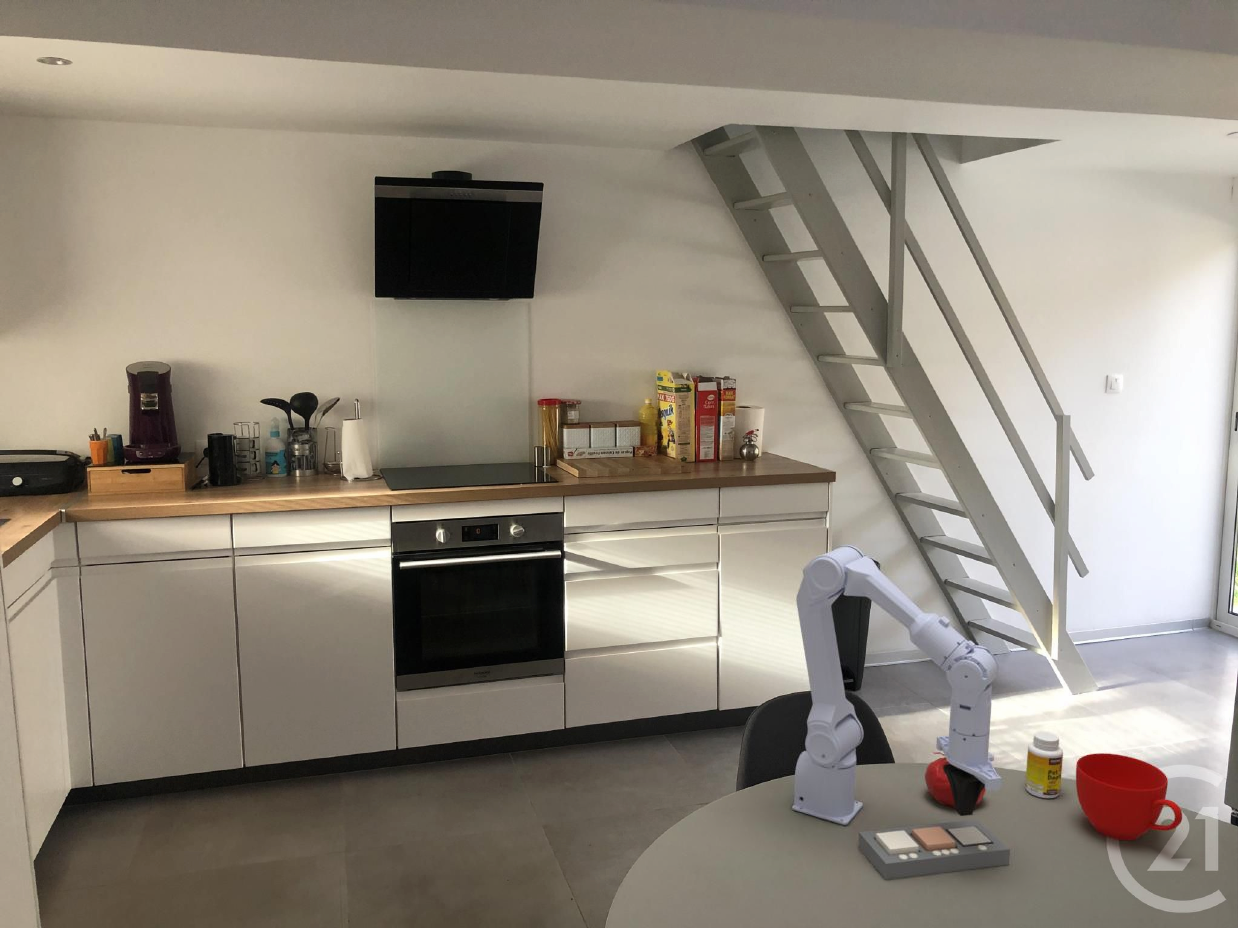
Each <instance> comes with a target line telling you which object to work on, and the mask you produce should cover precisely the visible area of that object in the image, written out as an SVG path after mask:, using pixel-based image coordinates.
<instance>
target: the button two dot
mask: <svg viewBox="0 0 1238 928" xmlns="http://www.w3.org/2000/svg"><path fill="white" fill-rule="evenodd" d="M876 842H877V843H878V844H879V845H880V846H881V847H882V848H883V850H884V851H885V852H886V853H887V854H888V855H889V856H891V855H900V854H908V853H917V852H919V846H918V845H917V844H916V843H915V842H914V841H913V840H912V838H911V837H910V836H909V835H908V834H907V833H906V832H905V831H904V830H903V831H894V832H885V833H876Z"/></svg>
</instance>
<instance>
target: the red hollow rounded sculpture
mask: <svg viewBox="0 0 1238 928" xmlns="http://www.w3.org/2000/svg"><path fill="white" fill-rule="evenodd" d="M932 753H933V754H934V755H936V754H938V755H941V756H944V757H939V758H938V759H935V760H934V761H931V762H930V763H929V764H928V765H927V767H926V770H925V773H924V780H925V781H924V782H925V784H926V787H927V790H928V791H929V793H930V794H931V796H932V797H933V798H934V799H935V800H936V801H937V802H939V803H940V804H943V805H944V806H950V807H953V808H955V805H954V800H953V795H952V790H951V787H950V784H949V781H948V778H947V776H946V774H945V772H944V770H943V766H944V765H946V764H950V763H949V762H948V761H947V759H946V757H945V755H944V753H942V752H941V751H940V752H934V751H932ZM986 791H987V790H986V789H985V787H984V789H983V790H982V792H981V794H980V796H979V798H978V800H977V803H976V806H977V805H978V804H979V803H981V801H982V800H983V798H984V796H985V793H986Z"/></svg>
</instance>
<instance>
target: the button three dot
mask: <svg viewBox="0 0 1238 928" xmlns="http://www.w3.org/2000/svg"><path fill="white" fill-rule="evenodd" d="M912 837H913V838H914V839H915V840H916V841H917V842H918V843H919V844H920V845H921V846H922V847H923V848H924V850H925V851H934V850H943V849H951V848H955V843H956V842H955V841H954V840H953V839H952V838H951V837H950V836H949V835H948V834H947V833H946V832H945V831H944V830H943V829H942V828H941V827H940V826H939V827H930V828H921V829H912Z"/></svg>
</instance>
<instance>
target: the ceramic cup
mask: <svg viewBox="0 0 1238 928" xmlns="http://www.w3.org/2000/svg"><path fill="white" fill-rule="evenodd" d="M1075 767H1076V768H1075V786H1076V794H1077V799H1078V802H1079V805H1080V807H1081V809H1082V811H1083V814H1084V815H1085V817H1086V818H1087V820H1088V821H1089V822H1090V823H1091V825H1092V826H1093V828H1094V829H1095V831H1097V832H1098V833H1099V834H1101V835H1103V836H1105V837H1108V838H1110V839H1114V840H1120V841H1133V840H1136V839H1138V838H1139V837H1141V836H1142V835H1144V834H1145V833H1147V832H1148V831H1149V830H1154V831H1162V832H1164V831H1171V830H1173V829H1176V828H1178V827H1179V825H1180V824H1181V823H1182V821H1183V813H1182V809H1181V808H1180V805H1178V804H1177V803H1176V802H1175V801H1172V800H1170V799H1166V796H1167V790H1168V781H1169V779H1168V776H1167V775H1166V773H1164V772H1163V771H1162V770H1161V769H1159V768H1158V767H1156V766H1155V765H1153V764H1151V763H1149V762H1146V761H1144V760H1140V759H1138V758H1135V757H1132V756H1128V755H1121V754H1118V753H1117V754H1116V753H1107V752H1106V753H1103V752H1102V753H1100V752H1097V753H1091V754H1090V753H1089V754H1085V755H1083V756H1081V757H1080V758H1079V759H1077V761H1076V765H1075ZM1164 806H1168V807H1169V808H1170V809H1171V810H1172V812H1173V814H1174V819H1173V822H1172V823H1170V824H1168V825H1164V824H1163V825H1162V824H1157V821H1158V819H1159V817H1160V816H1161V813H1162V811H1163V808H1164Z"/></svg>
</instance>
